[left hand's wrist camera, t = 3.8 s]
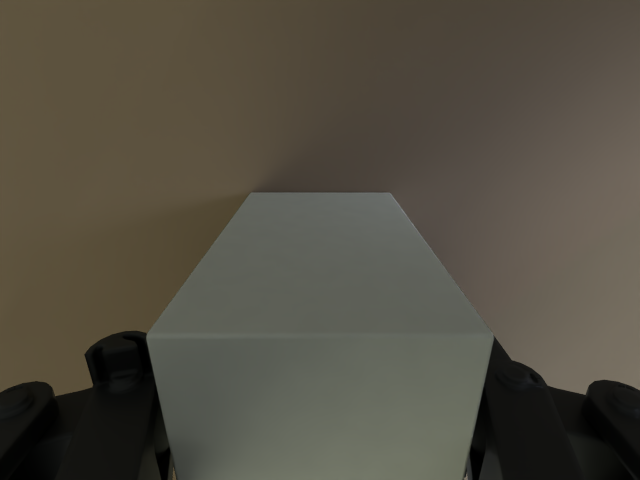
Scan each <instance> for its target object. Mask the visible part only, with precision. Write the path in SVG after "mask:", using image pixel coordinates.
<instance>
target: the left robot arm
mask: <svg viewBox="0 0 640 480" xmlns="http://www.w3.org/2000/svg"><path fill="white" fill-rule="evenodd" d="M146 336H147V334H146V333H144V332H139V331H124V332H120V333H116V334H112V335H110V336H108V337H106V338H103V339H101V340H99V341H98V342H97V343H95V344H94V345H92V346H91V347H90V348H89V349H88V351H87V352H86V353H85V354H84V355H85V358H86V362H87V365H88V368H89V372H90V375H91V378H92V382H93V387H92V388H89V389H86V390H82V391H77V392H73V393H68V394H64V395H59V396H55V394H54V392H53V389H52V387H51V386H50V385H49V384H47V383H45V382H38V381H35V382H28V383H22V384H20V385H16V386H13V387H11V388H8V389H6V390H4V391H2V392H0V480H172V476H173V467H174V465H173V460H172V456H171V451H170V447H169V442H168V437H167V433H166V428H165V423H164V419H163V414H162V409H161V405H160V400H159V395H158V391H157V386H156V382H155V377H154V372H153V368H152V363H151V358H150V354H149V349H148V344H147V340H146ZM493 336H494V335H493ZM466 473H467V475H468V480H640V390H638V389H636V388H634V387H632V386H629V385H626V384H623V383H620V382H616V381H609V380H600V381H594V382H593V383H592V384H590V385H589V387H588V390H587V393H586V395H583V394H579V393H574V392H570V391H565V390H561V389H557V388H553V387H550V386H547V384H546V383H545V381H544V380H543V378H542V377H541V376H540V375H539V374H538V373H537V372H535V371H534V370H533V369H532V368H530V367H528V366H526V365H524V364H522V363H519V362H516V361H512V360H511V359H510V357H509V356H508V355H507V353H506V352H505V350H504V349H503V348H502V346H501V345H500V344H499V342H498V341H497V339H496V338H495V337H494V341H493V345H492V350H491V354H490V359H489V364H488V368H487V373H486V378H485V382H484V387H483V392H482V396H481V401H480V406H479V410H478V415H477V419H476V424H475V429H474V433H473V438H472V443H471V447H470V452H469V457H468V461H467V466H466V470H465V475H464V477H466Z"/></svg>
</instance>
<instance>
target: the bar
mask: <svg viewBox="0 0 640 480" xmlns="http://www.w3.org/2000/svg"><path fill="white" fill-rule="evenodd" d="M146 340H147V344H148V349H149V354H150V358H151V363H152V368H153V372H154V377H155V382H156V386H157V391H158V395H159V400H160V405H161V409H162V414H163V419H164V423H165V428H166V433H167V437H168V442H169V447H170V451H171V456H172V460H173V465H174V470H175V474H176V479H177V480H464V475H465V470H466V466H467V461H468V457H469V452H470V447H471V443H472V438H473V433H474V429H475V424H476V419H477V415H478V410H479V406H480V401H481V396H482V392H483V387H484V382H485V378H486V373H487V368H488V364H489V359H490V354H491V350H492V345H493V341H494V336H493V333H492V332H491V330H490V329H489V328H488V326H487V325H486V323H485V322H484V321H483V319H482V318H481V317H480V315H479V314H478V313H477V311H476V310H475V308H474V307H473V306H472V304H471V303H470V302H469V300H468V299H467V297H466V296H465V295H464V293H463V292H462V291H461V289H460V288H459V286H458V285H457V284H456V282H455V281H454V280H453V278H452V277H451V276H450V274H449V273H448V271H447V270H446V269H445V267H444V266H443V265H442V263H441V262H440V260H439V259H438V258H437V256H436V255H435V254H434V252H433V251H432V250H431V248H430V247H429V245H428V244H427V243H426V241H425V240H424V239H423V237H422V236H421V234H420V233H419V232H418V230H417V229H416V228H415V226H414V225H413V223H412V222H411V221H410V219H409V218H408V217H407V215H406V214H405V213H404V211H403V210H402V208H401V207H400V206H399V204H398V203H397V202H396V200H395V199H394V197H393V196H392V195H391V193H324V192H252V193H250V194H249V195H248V197H247V198H246V199H245V201H244V202H243V203H242V205H241V206H240V208H239V209H238V210H237V212H236V213H235V214H234V216H233V217H232V218H231V220H230V221H229V223H228V224H227V225H226V227H225V228H224V229H223V231H222V232H221V233H220V235H219V236H218V238H217V239H216V240H215V242H214V243H213V244H212V246H211V247H210V248H209V250H208V251H207V253H206V254H205V255H204V257H203V258H202V259H201V261H200V262H199V263H198V265H197V266H196V268H195V269H194V270H193V272H192V273H191V274H190V276H189V277H188V278H187V280H186V281H185V283H184V284H183V285H182V287H181V288H180V289H179V291H178V292H177V294H176V295H175V296H174V298H173V299H172V300H171V302H170V303H169V304H168V306H167V307H166V309H165V310H164V311H163V313H162V314H161V315H160V317H159V318H158V319H157V321H156V322H155V324H154V325H153V326H152V328H151V329H150V330H149V332H148V333H147V336H146Z"/></svg>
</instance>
